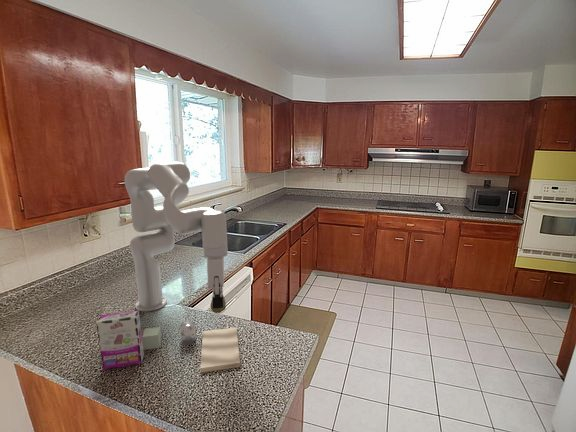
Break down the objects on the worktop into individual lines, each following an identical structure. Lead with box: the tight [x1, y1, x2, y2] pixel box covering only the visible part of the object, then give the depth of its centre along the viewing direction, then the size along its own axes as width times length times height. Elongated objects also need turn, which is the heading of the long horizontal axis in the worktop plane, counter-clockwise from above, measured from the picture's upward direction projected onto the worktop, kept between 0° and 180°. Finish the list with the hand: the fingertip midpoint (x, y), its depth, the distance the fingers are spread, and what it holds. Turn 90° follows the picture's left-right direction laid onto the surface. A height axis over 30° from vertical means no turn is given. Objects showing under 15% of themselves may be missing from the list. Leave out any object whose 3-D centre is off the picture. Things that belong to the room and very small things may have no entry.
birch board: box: [199, 327, 241, 373], centre depth 106 cm, size 20×12×2 cm, turn 13°
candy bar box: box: [96, 309, 145, 371], centre depth 98 cm, size 11×5×16 cm, turn 105°
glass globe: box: [179, 320, 197, 345], centre depth 111 cm, size 5×5×6 cm
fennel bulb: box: [210, 276, 227, 314], centre depth 102 cm, size 6×5×12 cm
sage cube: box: [142, 326, 162, 351], centre depth 108 cm, size 5×5×5 cm
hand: (218, 302), depth 102 cm, fingers closed on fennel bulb, 6 cm apart
